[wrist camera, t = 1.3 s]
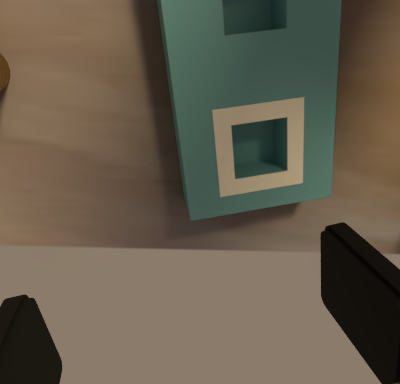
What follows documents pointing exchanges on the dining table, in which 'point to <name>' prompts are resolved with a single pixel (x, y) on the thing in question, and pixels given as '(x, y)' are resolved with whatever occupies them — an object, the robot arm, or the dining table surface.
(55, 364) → the robot arm
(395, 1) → the dining table surface
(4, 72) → the brass pin
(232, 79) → the socket block
